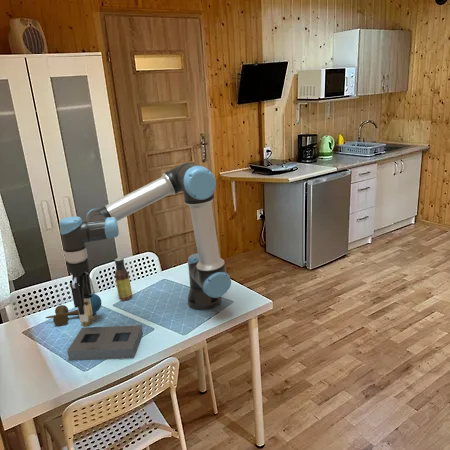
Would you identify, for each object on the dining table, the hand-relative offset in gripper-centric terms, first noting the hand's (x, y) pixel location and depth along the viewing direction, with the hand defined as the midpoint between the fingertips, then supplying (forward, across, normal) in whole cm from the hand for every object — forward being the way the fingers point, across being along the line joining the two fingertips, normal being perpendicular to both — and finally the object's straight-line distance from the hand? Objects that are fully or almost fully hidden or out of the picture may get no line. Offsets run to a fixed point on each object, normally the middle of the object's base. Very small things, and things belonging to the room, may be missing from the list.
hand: (86, 317), depth 160 cm
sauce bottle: (+13, -40, +3) cm, 42 cm away
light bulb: (+13, -21, -6) cm, 25 cm away
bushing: (+3, 0, 0) cm, 3 cm away
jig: (+13, 0, +6) cm, 14 cm away
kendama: (+13, -22, -16) cm, 31 cm away
